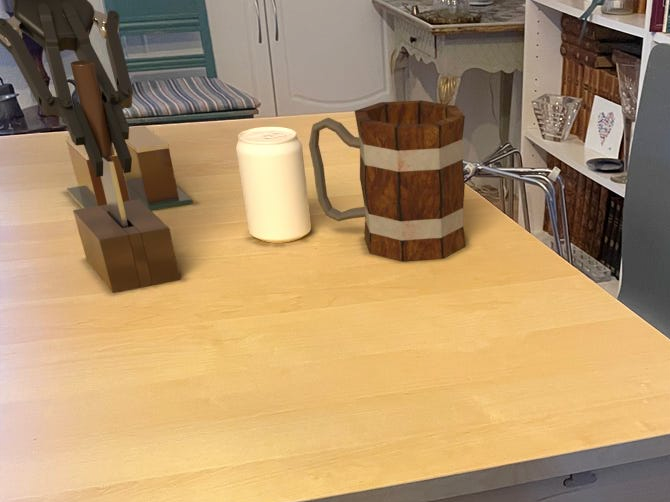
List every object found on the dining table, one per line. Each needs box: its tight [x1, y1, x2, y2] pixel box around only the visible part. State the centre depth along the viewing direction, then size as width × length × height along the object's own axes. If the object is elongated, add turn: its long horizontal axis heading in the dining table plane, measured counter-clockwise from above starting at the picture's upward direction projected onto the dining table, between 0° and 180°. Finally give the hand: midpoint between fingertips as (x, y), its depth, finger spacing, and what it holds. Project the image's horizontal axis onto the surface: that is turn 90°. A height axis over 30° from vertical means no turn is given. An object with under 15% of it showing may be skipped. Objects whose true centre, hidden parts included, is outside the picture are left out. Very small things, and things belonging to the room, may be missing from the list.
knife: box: [70, 60, 128, 229], centre depth 106 cm, size 6×2×19 cm, turn 31°
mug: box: [308, 99, 466, 262], centre depth 117 cm, size 20×14×15 cm
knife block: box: [73, 199, 181, 294], centre depth 112 cm, size 12×8×6 cm, turn 32°
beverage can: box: [235, 126, 312, 244], centre depth 120 cm, size 8×8×12 cm
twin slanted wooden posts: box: [65, 125, 193, 211], centre depth 132 cm, size 14×14×8 cm
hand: (113, 167), depth 103 cm, fingers closed on knife, 2 cm apart
